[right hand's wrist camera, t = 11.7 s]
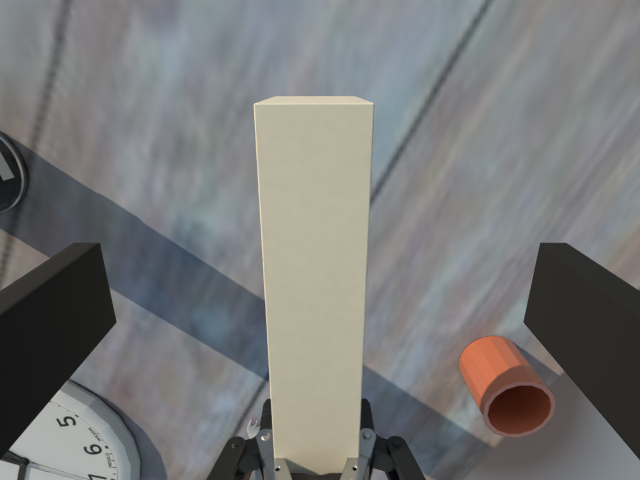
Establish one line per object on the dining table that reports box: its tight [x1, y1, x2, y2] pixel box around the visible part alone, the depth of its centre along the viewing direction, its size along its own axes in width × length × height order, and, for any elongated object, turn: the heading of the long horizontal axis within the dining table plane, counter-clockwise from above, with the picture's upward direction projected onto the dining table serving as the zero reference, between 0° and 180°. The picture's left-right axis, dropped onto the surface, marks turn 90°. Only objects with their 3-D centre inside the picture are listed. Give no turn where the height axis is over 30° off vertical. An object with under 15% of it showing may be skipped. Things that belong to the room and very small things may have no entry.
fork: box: [245, 420, 260, 480], centre depth 54 cm, size 3×16×2 cm, turn 167°
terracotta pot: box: [459, 336, 556, 437], centre depth 46 cm, size 7×7×8 cm
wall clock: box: [0, 380, 141, 480], centre depth 54 cm, size 30×2×30 cm
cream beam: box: [254, 96, 374, 476], centre depth 26 cm, size 5×26×9 cm, turn 0°
